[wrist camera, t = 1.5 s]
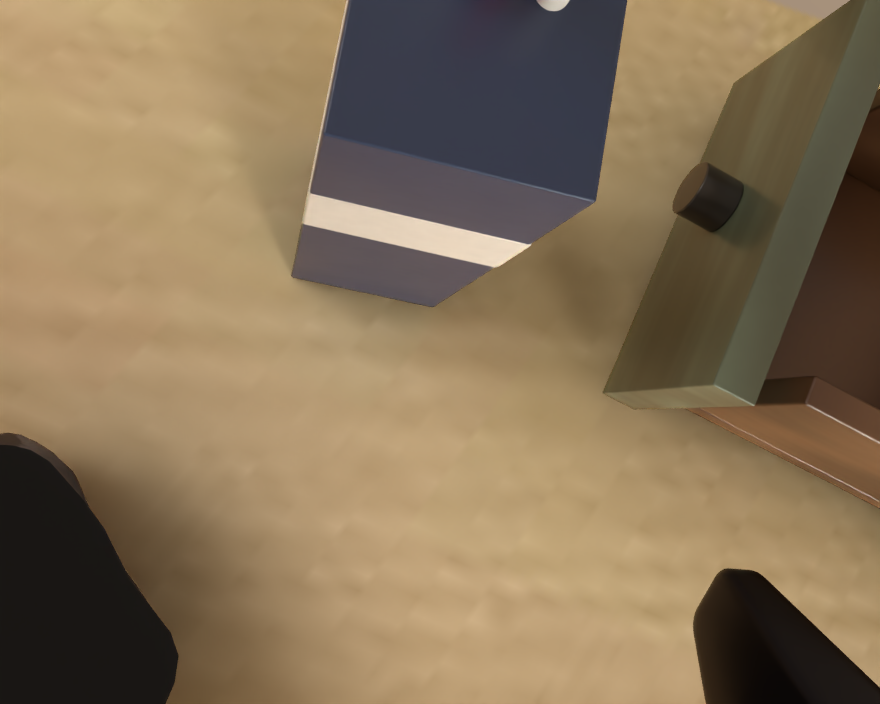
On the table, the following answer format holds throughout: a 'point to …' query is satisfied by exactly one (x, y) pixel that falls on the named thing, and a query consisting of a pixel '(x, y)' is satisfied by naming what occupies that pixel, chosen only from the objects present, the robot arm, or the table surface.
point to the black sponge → (69, 596)
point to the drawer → (779, 264)
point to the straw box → (455, 139)
